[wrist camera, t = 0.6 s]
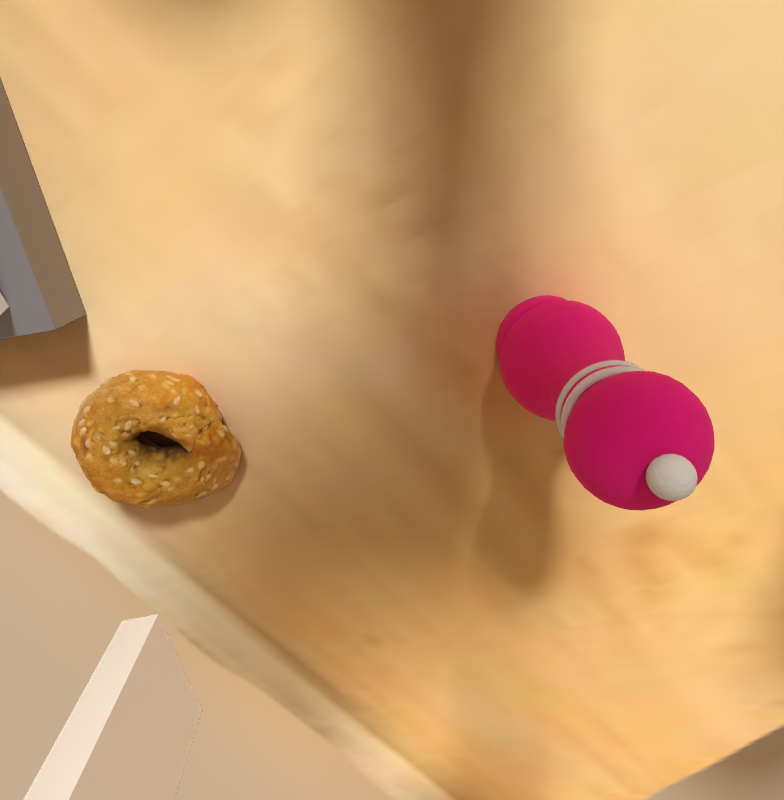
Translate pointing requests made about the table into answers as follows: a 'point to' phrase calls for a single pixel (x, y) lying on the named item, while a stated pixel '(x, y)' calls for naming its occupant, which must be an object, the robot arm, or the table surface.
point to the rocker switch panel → (29, 245)
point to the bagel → (144, 460)
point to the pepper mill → (605, 405)
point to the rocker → (2, 304)
